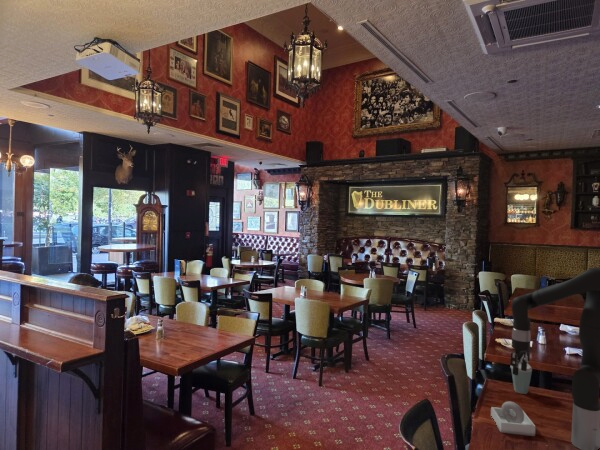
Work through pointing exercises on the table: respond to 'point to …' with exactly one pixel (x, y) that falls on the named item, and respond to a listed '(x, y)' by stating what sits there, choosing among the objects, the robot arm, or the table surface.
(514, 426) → the walled tray
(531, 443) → the table surface
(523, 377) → the disposable coffee cup
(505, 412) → the donut
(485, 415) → the table surface
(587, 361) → the robot arm
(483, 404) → the table surface
